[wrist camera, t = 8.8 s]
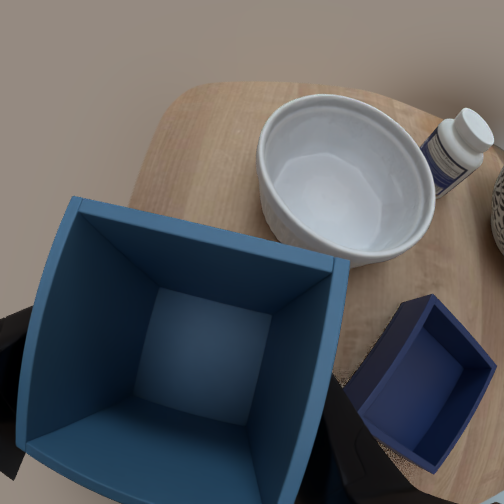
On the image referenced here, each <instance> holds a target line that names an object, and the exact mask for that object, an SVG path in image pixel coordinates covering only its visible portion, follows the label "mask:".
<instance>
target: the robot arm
mask: <svg viewBox="0 0 504 504" xmlns="http://www.w3.org/2000/svg"><path fill="white" fill-rule="evenodd" d="M32 309H33V306H31V307H28V308H26V309H23V310H21V311H19V312H16V313H14V314H11V315H9V316H7V317H6V318H2V319H0V471H1V472H2V473H4V474H5V475H6V476H7V477H9V478H10V479H12V480H13V481H14V479H15V477H16V475H17V472H18V470H19V467H20V465H21V463H22V460H23V458H24V456H25V453H26V452H24V451H22V450H21V449H20V448H18V447H17V446H16V413H17V399H18V388H19V379H20V372H21V365H22V358H23V352H24V346H25V341H26V336H27V331H28V326H29V322H30V318H31V313H32ZM294 504H457V503H454V502H451V501H447V500H444V499H441V498H438V497H435V496H432V495H429V494H426V493H424V492H422V491H420V490H418V489H417V488H415V487H414V486H413V485H412V484H411V483H410V482H409V481H408V480H407V479H406V478H405V477H404V475H403V474H402V473H401V472H400V470H399V469H398V468H397V467H396V466H395V464H394V463H393V462H392V461H391V460H390V458H389V457H388V456H387V455H386V453H385V452H384V451H383V449H382V448H381V447H380V445H379V444H378V443H377V441H376V440H375V438H374V437H373V435H372V434H371V432H370V431H369V429H368V428H367V426H366V425H365V424H364V421H363V420H362V418H361V417H360V415H359V414H358V412H357V411H356V409H355V407H354V406H353V404H352V403H351V401H350V400H349V398H348V396H347V395H346V393H345V392H344V390H343V389H342V387H341V386H340V384H339V382H338V381H337V379H336V378H335V376H334V375H333V373H332V374H331V378H330V383H329V387H328V391H327V396H326V400H325V404H324V408H323V412H322V415H321V419H320V423H319V427H318V430H317V434H316V437H315V441H314V444H313V448H312V451H311V454H310V458H309V461H308V464H307V467H306V470H305V473H304V476H303V479H302V482H301V485H300V488H299V491H298V494H297V496H296V499H295V502H294ZM492 504H500V503H498V502H494V503H492Z"/></svg>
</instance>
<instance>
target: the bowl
mask: <svg viewBox="0 0 504 504" xmlns="http://www.w3.org/2000/svg"><path fill="white" fill-rule="evenodd" d="M491 228H492V233H493V236H494V239H495V242H496V244H497V246H498V248H499V250H500V251H501V253H502V254H503V255H504V166H503V168H502V170H501V172H500V174H499V176H498V178H497V180H496V182H495V185H494V189H493V194H492V215H491Z"/></svg>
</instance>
